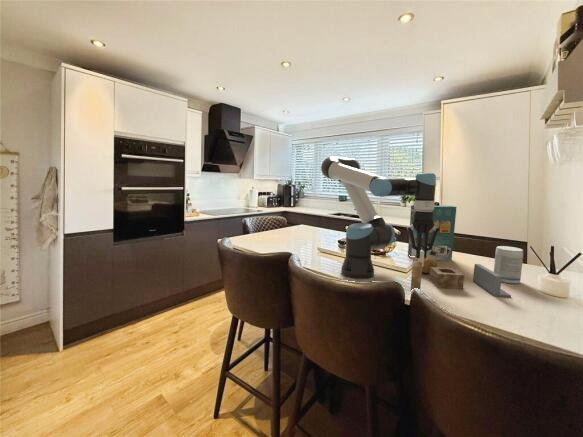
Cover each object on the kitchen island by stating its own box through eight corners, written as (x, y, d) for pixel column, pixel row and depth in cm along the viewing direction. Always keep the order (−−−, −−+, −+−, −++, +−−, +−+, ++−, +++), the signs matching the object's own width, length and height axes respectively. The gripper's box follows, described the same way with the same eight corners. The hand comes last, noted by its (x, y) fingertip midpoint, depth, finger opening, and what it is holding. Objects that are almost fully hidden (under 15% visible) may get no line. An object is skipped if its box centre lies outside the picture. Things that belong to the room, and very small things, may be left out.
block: (436, 287, 113) (438, 273, 112) (429, 279, 122) (430, 266, 121) (463, 289, 111) (464, 275, 111) (453, 281, 120) (454, 268, 119)
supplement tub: (525, 283, 119) (530, 250, 116) (508, 285, 116) (512, 251, 114) (503, 275, 128) (507, 245, 126) (487, 277, 126) (490, 246, 124)
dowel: (411, 292, 108) (414, 263, 106) (409, 289, 111) (411, 260, 109) (421, 293, 107) (423, 263, 105) (418, 289, 110) (420, 261, 109)
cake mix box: (446, 257, 159) (451, 205, 155) (451, 260, 153) (456, 206, 149) (407, 256, 161) (411, 205, 157) (411, 258, 155) (414, 206, 151)
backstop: (493, 296, 105) (495, 276, 104) (472, 281, 120) (474, 263, 119) (510, 297, 104) (513, 277, 103) (487, 282, 120) (489, 264, 118)
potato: (425, 267, 140) (426, 252, 139) (441, 276, 126) (443, 259, 125) (406, 267, 140) (407, 252, 138) (421, 276, 126) (422, 260, 125)
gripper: (409, 211, 111) (406, 267, 114) (444, 211, 109) (440, 269, 112) (405, 209, 118) (402, 262, 121) (437, 210, 117) (433, 263, 119)
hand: (420, 265), depth 117 cm, fingers closed
